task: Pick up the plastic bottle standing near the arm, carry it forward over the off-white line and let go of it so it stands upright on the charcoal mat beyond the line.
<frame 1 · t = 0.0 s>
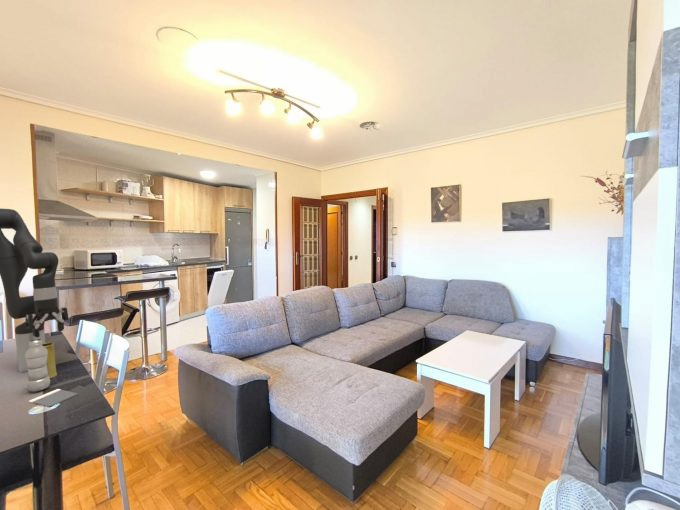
hand: (49, 333, 134), 17 cm above the table, tool pointing down, fingers open, 8 cm apart
vase: (47, 377, 130), on the table
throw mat: (53, 398, 113), on the table
plastic bottle: (39, 390, 119), on the table
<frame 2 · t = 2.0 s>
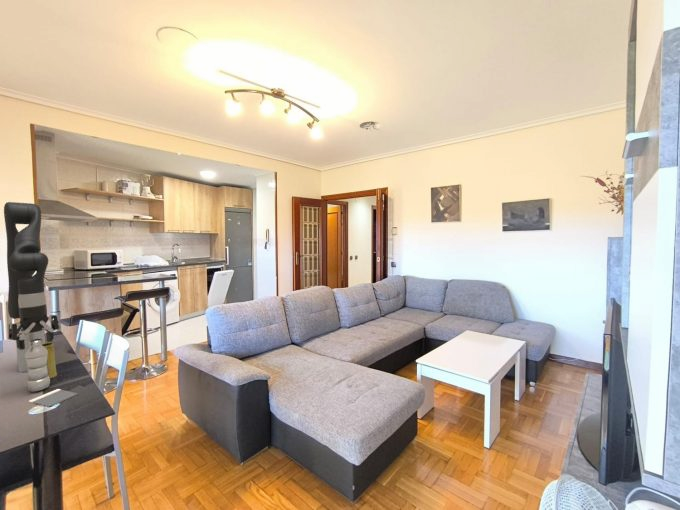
hand: (36, 345, 118), 18 cm above the table, tool pointing down, fingers open, 8 cm apart
nothing on the table moved.
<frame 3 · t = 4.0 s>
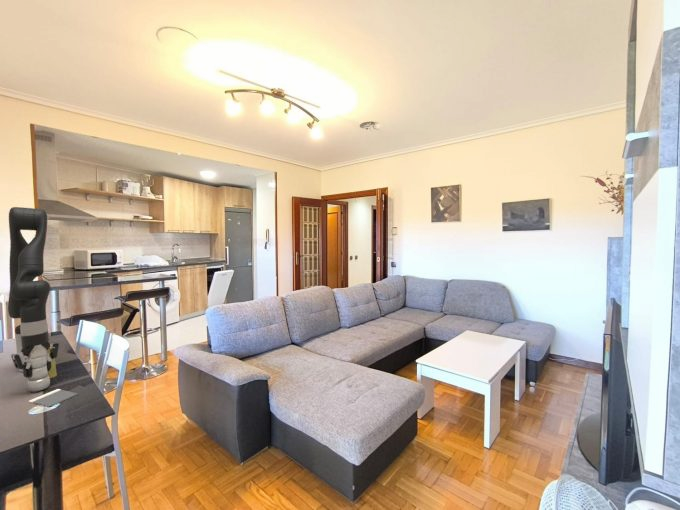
hand: (38, 373, 119), 6 cm above the table, tool pointing down, fingers closed on plastic bottle, 5 cm apart
plastic bottle: (39, 390, 119), on the table, touching gripper
everything else where it was.
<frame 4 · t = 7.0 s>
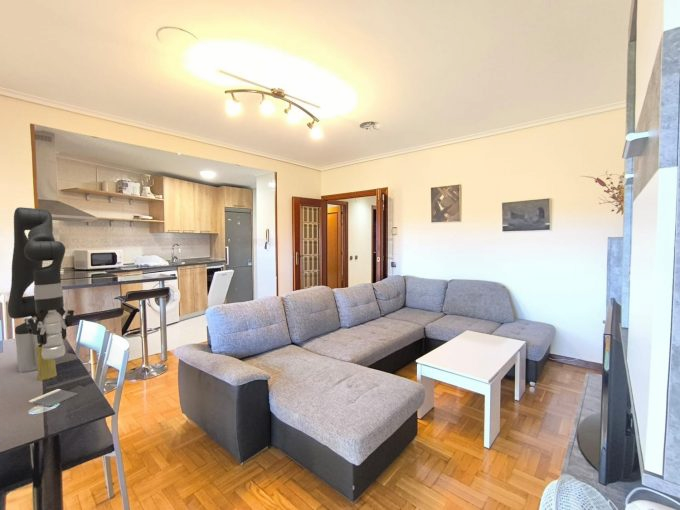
hand: (52, 341, 111), 22 cm above the table, tool pointing down, fingers closed on plastic bottle, 5 cm apart
plastic bottle: (54, 359, 111), point 15 cm above the table, touching gripper
everything else where it was.
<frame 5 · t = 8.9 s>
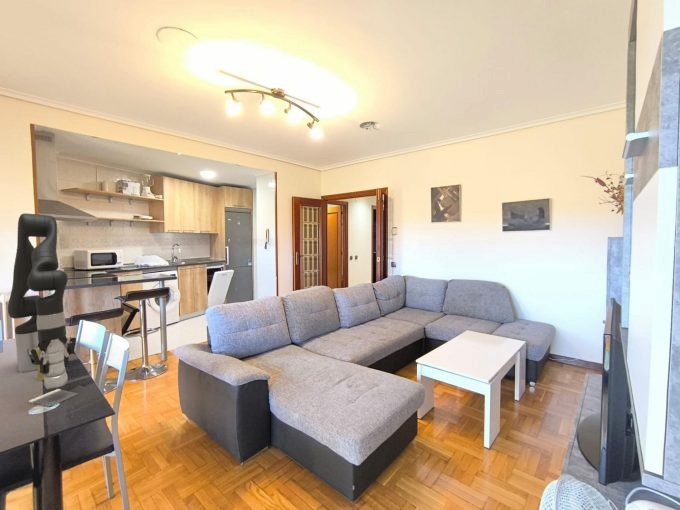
hand: (54, 370, 112), 11 cm above the table, tool pointing down, fingers closed on plastic bottle, 5 cm apart
plastic bottle: (56, 387, 112), point 4 cm above the table, touching gripper
everything else where it was.
when the fingers open (8 cm above the table, at t = 10.4 s): plastic bottle drops 1 cm, resting on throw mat.
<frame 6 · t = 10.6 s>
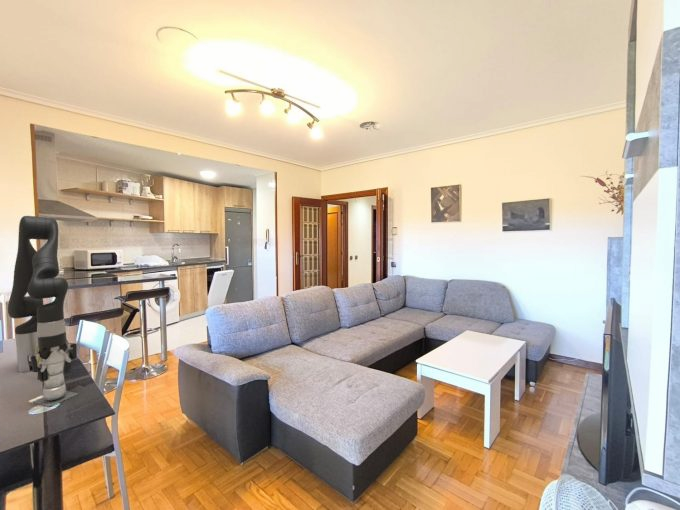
hand: (55, 376, 112), 9 cm above the table, tool pointing down, fingers open, 6 cm apart
plastic bottle: (54, 399, 112), resting on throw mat, touching gripper
everything else where it was.
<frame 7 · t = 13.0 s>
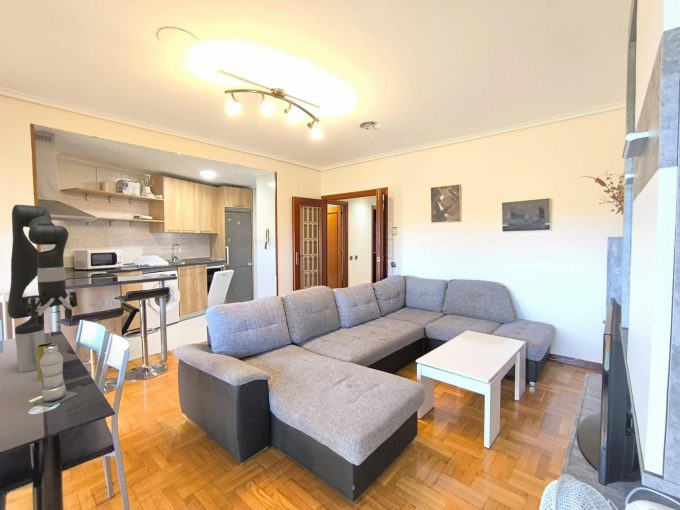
hand: (54, 321, 114), 28 cm above the table, tool pointing down, fingers open, 8 cm apart
plastic bottle: (54, 399, 112), resting on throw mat
everything else where it was.
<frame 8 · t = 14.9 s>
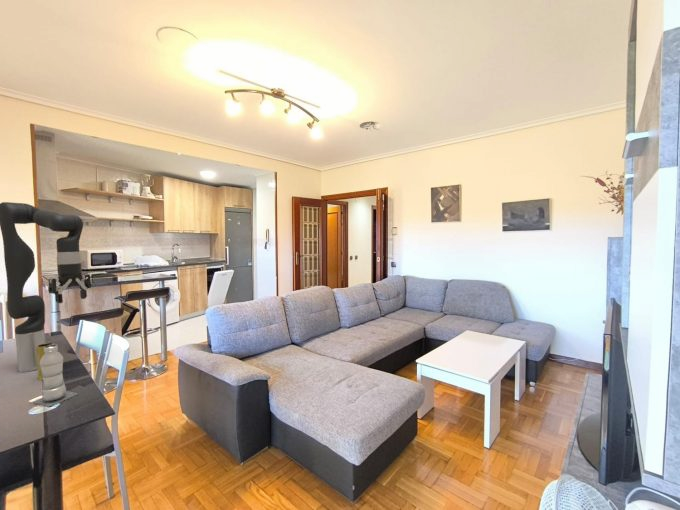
hand: (71, 300, 128), 33 cm above the table, tool pointing down, fingers open, 8 cm apart
nothing on the table moved.
at the end: plastic bottle inside the target area (1.2 cm from its centre), resting on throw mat; plastic bottle tilted 0°; the gripper is holding nothing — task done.
